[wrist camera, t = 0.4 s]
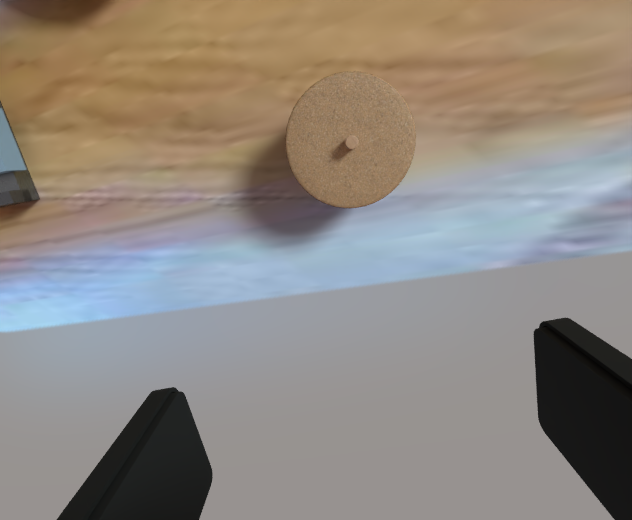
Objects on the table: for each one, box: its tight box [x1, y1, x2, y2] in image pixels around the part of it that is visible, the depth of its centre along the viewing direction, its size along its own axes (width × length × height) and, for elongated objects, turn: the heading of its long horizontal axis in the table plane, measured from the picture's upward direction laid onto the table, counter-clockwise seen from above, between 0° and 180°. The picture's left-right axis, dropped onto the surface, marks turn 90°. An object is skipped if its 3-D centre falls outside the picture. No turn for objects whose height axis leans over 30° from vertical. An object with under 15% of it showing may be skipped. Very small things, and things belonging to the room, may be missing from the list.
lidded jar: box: [285, 71, 416, 208], centre depth 32 cm, size 11×11×9 cm
